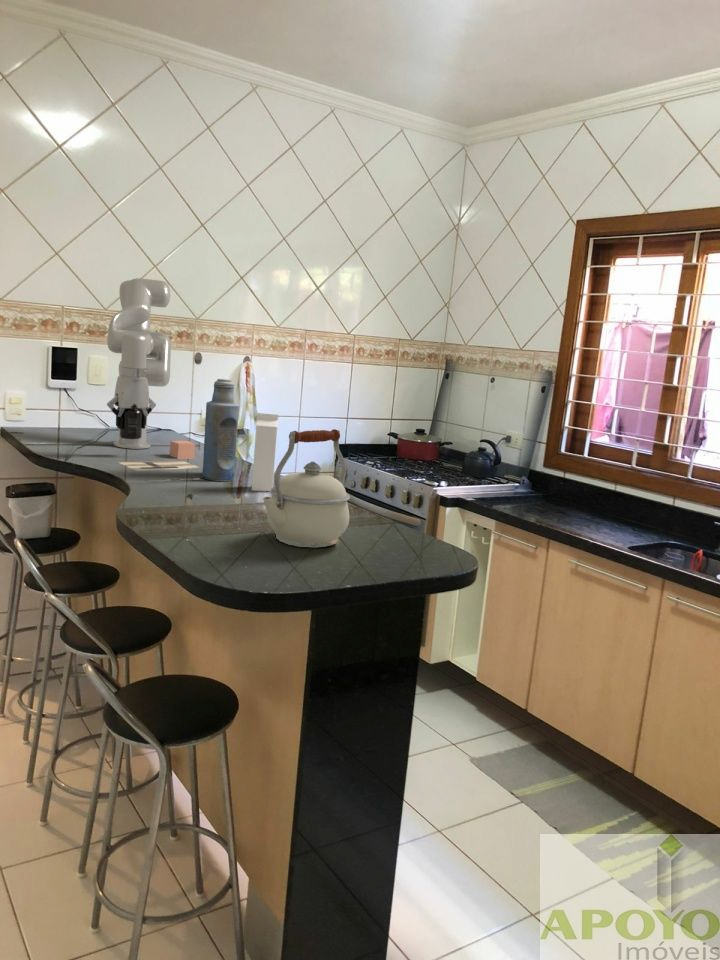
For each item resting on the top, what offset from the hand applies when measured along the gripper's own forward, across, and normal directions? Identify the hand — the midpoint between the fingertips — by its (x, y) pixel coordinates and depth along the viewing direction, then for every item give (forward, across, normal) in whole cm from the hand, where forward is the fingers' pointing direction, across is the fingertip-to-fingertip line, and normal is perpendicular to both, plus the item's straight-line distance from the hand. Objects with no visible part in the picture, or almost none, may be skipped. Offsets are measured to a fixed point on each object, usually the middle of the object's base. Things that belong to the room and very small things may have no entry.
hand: (130, 427), depth 247 cm
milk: (+8, -18, +52) cm, 55 cm away
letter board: (+10, -3, +16) cm, 19 cm away
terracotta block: (+11, -17, +3) cm, 20 cm away
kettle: (+5, +4, +103) cm, 103 cm away
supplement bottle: (+3, 0, 0) cm, 3 cm away
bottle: (+9, -13, +35) cm, 38 cm away
